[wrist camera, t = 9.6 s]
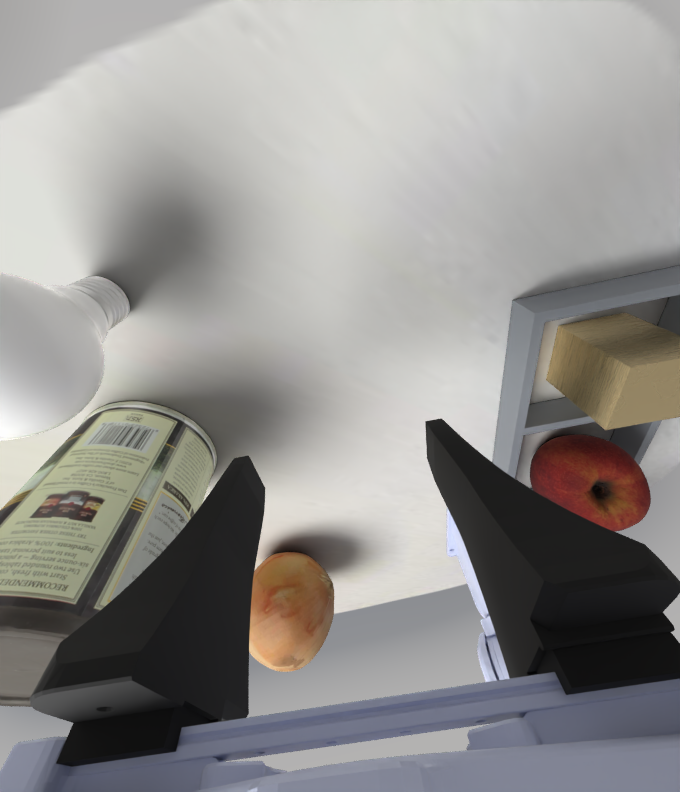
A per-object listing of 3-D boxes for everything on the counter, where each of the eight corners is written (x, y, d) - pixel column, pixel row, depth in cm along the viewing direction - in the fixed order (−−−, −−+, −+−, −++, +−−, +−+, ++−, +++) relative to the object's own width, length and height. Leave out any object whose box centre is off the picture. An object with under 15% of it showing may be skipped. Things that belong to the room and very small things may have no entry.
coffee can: (130, 502, 29) (5, 719, 17) (48, 416, 23) (-225, 656, 11) (238, 480, 28) (184, 690, 16) (181, 386, 22) (38, 608, 11)
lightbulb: (36, 219, 16) (-319, 267, 7) (169, 258, 18) (14, 339, 8) (57, 331, 19) (-167, 461, 10) (167, 356, 21) (54, 489, 12)
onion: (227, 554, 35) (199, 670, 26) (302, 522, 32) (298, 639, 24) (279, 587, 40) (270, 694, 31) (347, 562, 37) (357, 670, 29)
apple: (604, 404, 26) (703, 480, 19) (590, 466, 30) (667, 544, 24) (514, 428, 27) (580, 508, 20) (513, 484, 31) (566, 565, 25)
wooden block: (605, 368, 24) (680, 416, 19) (545, 379, 24) (605, 430, 19) (624, 312, 21) (717, 351, 17) (558, 325, 22) (630, 367, 17)
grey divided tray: (600, 480, 32) (620, 500, 30) (487, 500, 32) (499, 521, 30) (693, 262, 20) (738, 271, 18) (512, 300, 20) (535, 313, 18)
